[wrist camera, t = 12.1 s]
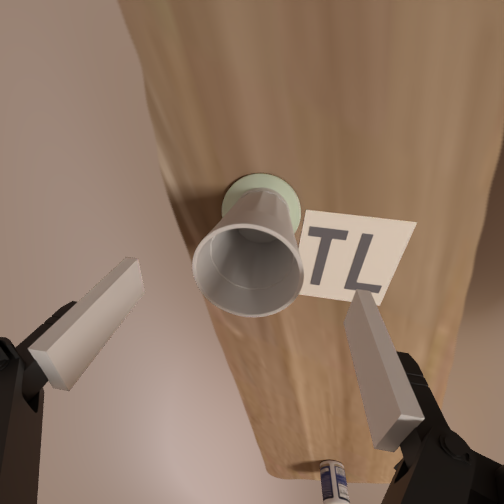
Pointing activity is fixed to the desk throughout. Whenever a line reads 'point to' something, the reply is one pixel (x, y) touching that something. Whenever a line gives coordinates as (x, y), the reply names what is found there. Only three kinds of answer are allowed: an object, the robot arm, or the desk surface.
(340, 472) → the pill bottle
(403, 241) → the tile
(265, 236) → the cup
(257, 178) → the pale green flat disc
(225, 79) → the desk surface
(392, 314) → the desk surface
